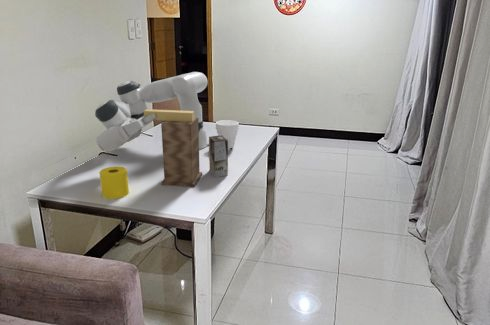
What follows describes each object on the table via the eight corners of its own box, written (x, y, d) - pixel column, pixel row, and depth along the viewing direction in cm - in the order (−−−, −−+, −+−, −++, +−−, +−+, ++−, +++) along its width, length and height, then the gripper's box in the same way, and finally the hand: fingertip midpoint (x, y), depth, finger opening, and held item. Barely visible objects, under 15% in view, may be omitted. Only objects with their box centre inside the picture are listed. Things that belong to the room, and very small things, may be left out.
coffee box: (228, 175, 177) (228, 140, 172) (214, 177, 175) (214, 141, 170) (222, 168, 185) (222, 135, 180) (208, 170, 183) (208, 136, 178)
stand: (161, 184, 166) (157, 123, 157) (171, 172, 179) (168, 115, 171) (194, 186, 164) (192, 124, 156) (202, 174, 178) (201, 116, 169)
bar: (144, 119, 163) (143, 110, 162) (147, 117, 167) (146, 109, 165) (192, 121, 161) (192, 113, 160) (194, 119, 164) (194, 111, 163)
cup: (239, 144, 222) (240, 120, 217) (237, 151, 210) (237, 125, 206) (217, 143, 223) (217, 119, 218) (213, 150, 211) (213, 125, 207)
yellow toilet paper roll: (113, 187, 163) (111, 165, 160) (134, 190, 160) (132, 168, 157) (96, 196, 154) (93, 173, 151) (117, 200, 151) (115, 177, 148)
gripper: (143, 129, 178) (169, 114, 174) (124, 141, 159) (153, 126, 155) (135, 116, 176) (161, 101, 173) (115, 128, 157) (144, 111, 153)
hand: (157, 113), depth 164 cm, fingers closed on bar, 3 cm apart
